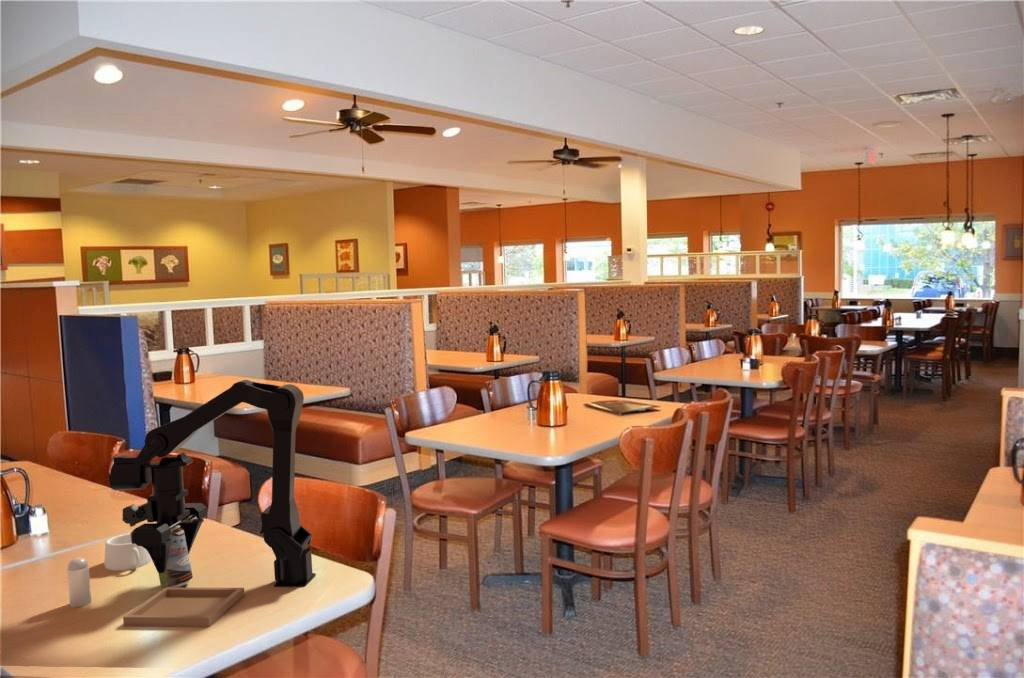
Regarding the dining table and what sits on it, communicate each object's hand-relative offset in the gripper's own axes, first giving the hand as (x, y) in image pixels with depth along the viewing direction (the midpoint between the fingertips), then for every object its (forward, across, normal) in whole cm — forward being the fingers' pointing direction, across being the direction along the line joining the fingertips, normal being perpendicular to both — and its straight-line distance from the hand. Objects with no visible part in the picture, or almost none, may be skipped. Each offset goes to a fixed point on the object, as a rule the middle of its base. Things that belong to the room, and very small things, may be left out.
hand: (173, 564), depth 162 cm
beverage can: (+5, 0, 0) cm, 5 cm away
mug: (+5, -11, -16) cm, 20 cm away
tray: (+4, +12, +9) cm, 16 cm away
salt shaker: (+4, +9, -14) cm, 17 cm away
